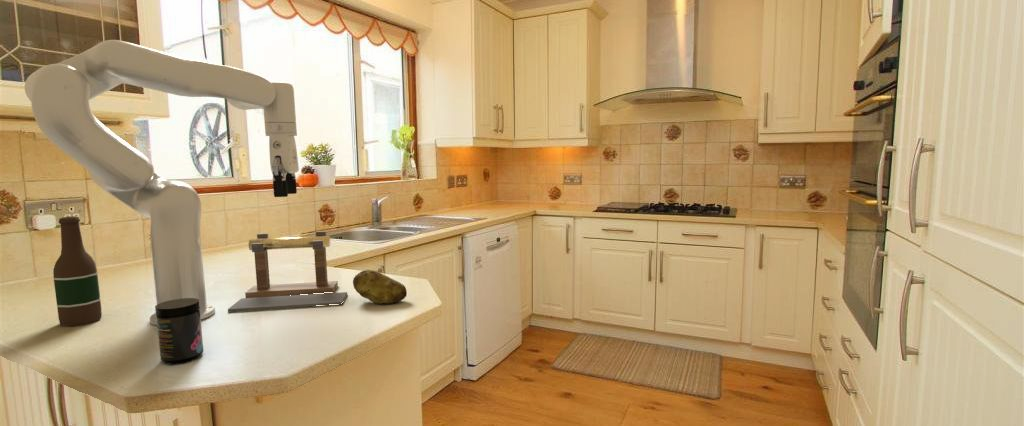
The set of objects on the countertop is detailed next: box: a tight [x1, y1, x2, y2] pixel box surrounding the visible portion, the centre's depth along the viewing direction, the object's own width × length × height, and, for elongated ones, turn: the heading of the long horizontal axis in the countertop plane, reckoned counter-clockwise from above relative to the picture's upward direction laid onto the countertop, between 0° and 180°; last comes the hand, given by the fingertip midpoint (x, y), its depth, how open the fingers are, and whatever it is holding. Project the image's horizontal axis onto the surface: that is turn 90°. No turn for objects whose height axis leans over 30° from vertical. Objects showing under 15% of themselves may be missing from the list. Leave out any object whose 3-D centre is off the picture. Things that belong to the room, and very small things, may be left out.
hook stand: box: [244, 230, 339, 298], centre depth 134 cm, size 7×22×16 cm, turn 100°
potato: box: [352, 269, 407, 305], centre depth 124 cm, size 8×13×8 cm, turn 65°
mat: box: [227, 291, 348, 313], centre depth 125 cm, size 9×26×1 cm, turn 100°
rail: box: [248, 235, 331, 251], centre depth 134 cm, size 3×20×3 cm, turn 100°
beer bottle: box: [52, 216, 103, 327], centre depth 112 cm, size 8×8×24 cm
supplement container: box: [154, 298, 204, 365], centre depth 91 cm, size 7×7×10 cm
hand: (285, 195), depth 132 cm, fingers open, 9 cm apart
